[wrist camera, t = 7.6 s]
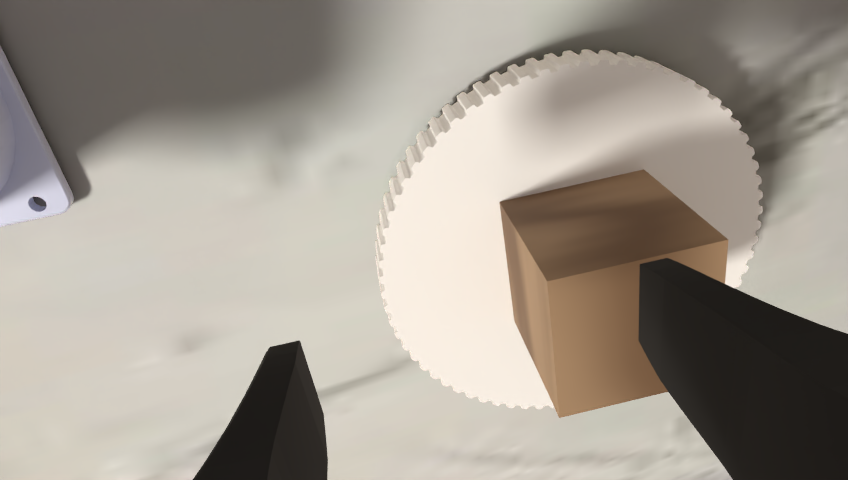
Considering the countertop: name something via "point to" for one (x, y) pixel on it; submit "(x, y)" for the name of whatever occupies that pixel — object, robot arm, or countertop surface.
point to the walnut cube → (597, 281)
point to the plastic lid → (534, 173)
